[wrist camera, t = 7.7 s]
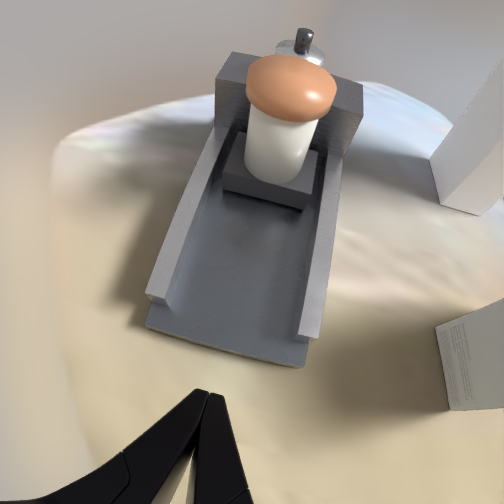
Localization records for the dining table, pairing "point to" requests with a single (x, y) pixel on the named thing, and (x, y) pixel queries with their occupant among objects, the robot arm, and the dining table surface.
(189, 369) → the dining table surface
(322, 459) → the dining table surface
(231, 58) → the mount
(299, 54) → the potentiometer
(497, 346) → the supplement box
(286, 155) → the knob
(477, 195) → the milk
